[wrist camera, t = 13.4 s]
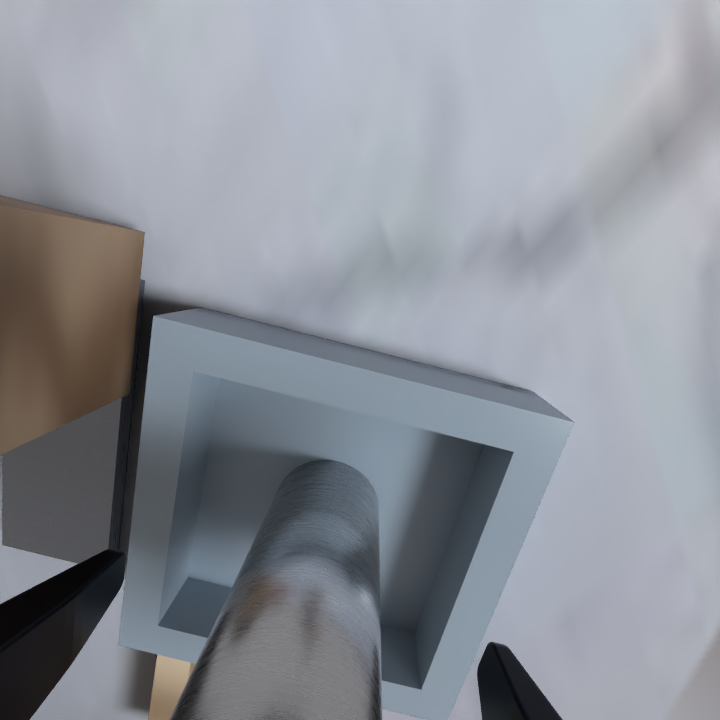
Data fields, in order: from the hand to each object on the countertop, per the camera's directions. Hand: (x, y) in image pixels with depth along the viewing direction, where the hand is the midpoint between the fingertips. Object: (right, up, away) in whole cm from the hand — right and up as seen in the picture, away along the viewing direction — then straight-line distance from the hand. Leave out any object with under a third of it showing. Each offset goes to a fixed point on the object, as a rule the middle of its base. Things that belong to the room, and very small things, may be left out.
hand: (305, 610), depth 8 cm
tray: (0, +1, +4) cm, 4 cm away
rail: (-9, +4, +4) cm, 11 cm away
